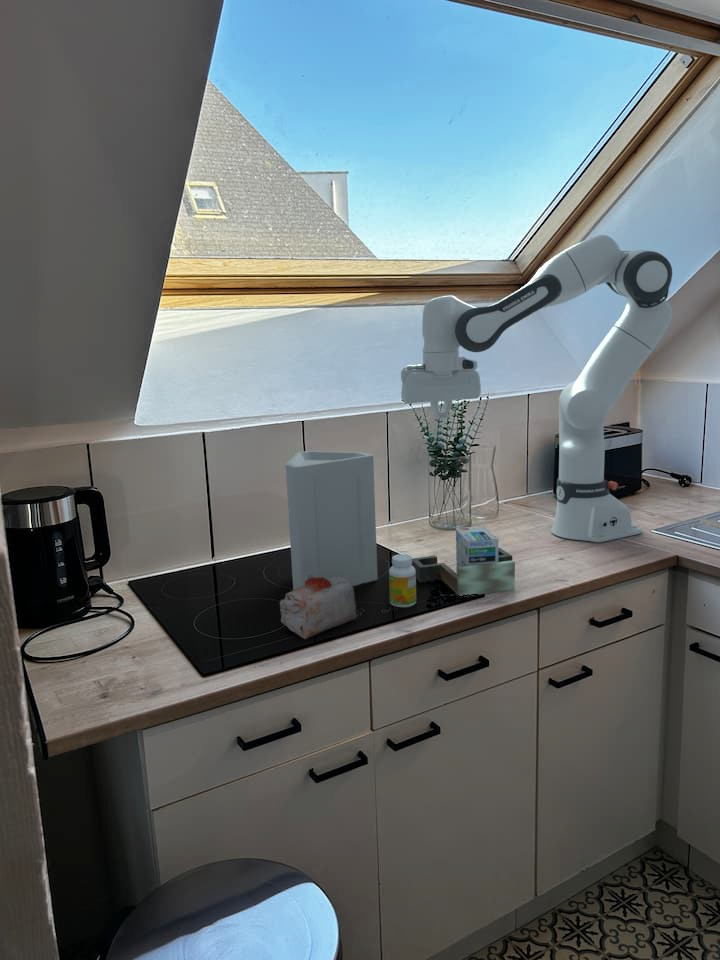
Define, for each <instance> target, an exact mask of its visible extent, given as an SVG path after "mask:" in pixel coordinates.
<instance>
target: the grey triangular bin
mask: <svg viewBox="0 0 720 960" xmlns="http://www.w3.org/2000/svg"><path fill="white" fill-rule="evenodd" d="M285 475H286V492H287V493H286V494H287V509H288V510H287V512H288V523H289V524H288V525H289V540H290V541H289V543H290V557H291V559H290V560H291V575H292V588H293V589H292V590H294V589H297V588H300V587H302V586H305V581H306V580H307V579H308V576H309V575H310V576H311V575H312V577H315V578H318V577H320V578H321V577H324V578H325V579H328V578H332V577H335V576H341V577H344V578H345V579H347V580H348V581H351V582H352V584H353V587H355V586H359V585H361V584H362V583H363V584H366V583H370V582H373V581H377V580H378V578H379V577H378V558H377V557H378V555H377V553H378V552H377V549H378V548H377V526H376V499H375V497H376V496H375V495H376V493H375V465H374V454H371V453H367V452H360V451H359V452H357V451H325V450H323V451H322V450H321V451H319V450H315V451H314V450H307V451H300V452H299V451H298V452H296V453H295V454H294V455H293V456H292V457H291V458H290V459H289V460H288V461H286V463H285Z"/></svg>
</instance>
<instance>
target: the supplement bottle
mask: <svg viewBox="0 0 720 960" xmlns="http://www.w3.org/2000/svg"><path fill="white" fill-rule="evenodd" d="M412 558H413V557H412V556H411V555H409V554H405V553H404V554H403V553H400V554H395V555H392V557H391V564H392V566H391V567H390V568H389V569H388V580H389V581H388V582H389V586H388V587H389V604H390V605H391V606H393V607H396V608H410V607H412V606H414V605H416V603H417V579H416V571H415V568H414V567H413V566H411V564H412Z"/></svg>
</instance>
